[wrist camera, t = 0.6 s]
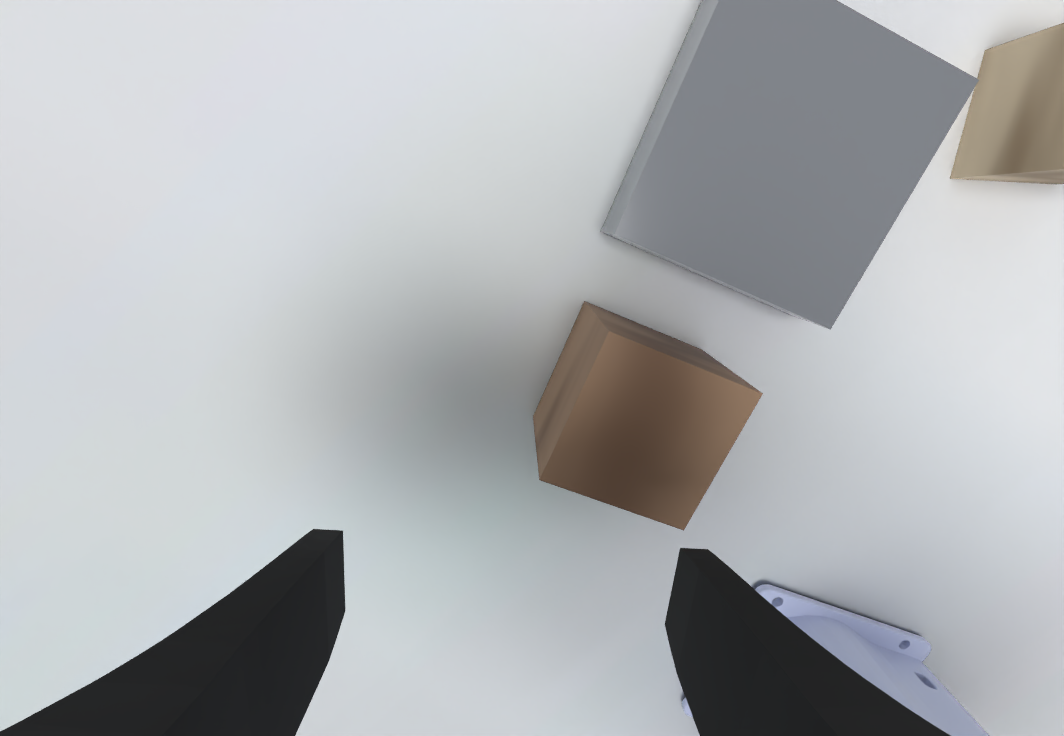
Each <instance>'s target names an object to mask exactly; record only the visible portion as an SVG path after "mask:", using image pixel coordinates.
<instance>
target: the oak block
mask: <svg viewBox="0 0 1064 736" xmlns="http://www.w3.org/2000/svg"><path fill="white" fill-rule="evenodd" d="M977 79H978V80H979V81H978V83H977V84H976V86H975V89H974V92H973V96H972V100H971V103H970V107H969V111H968V114H967V118H966V121H965V125H964V129H963V132H962V136H961V140H960V143H959V147H958V151H957V154H956V158H955V161H954V165H953V169H952V172H951V176H950V179H966V180H985V181H1004V182H1024V183H1043V184H1064V23H1062V24H1059V25H1056V26H1053V27H1050V28H1048V29H1045V30H1042V31H1039V32H1036V33H1033V34H1030V35H1027V36H1025V37H1022V38H1019V39H1016V40H1013V41H1010V42H1007V43H1004V44H1002V45H999V46H996V47H993V48H990V49H987V50H985V52H984V56H983V60H982V63H981V67H980V70H979V74H978V78H977Z"/></svg>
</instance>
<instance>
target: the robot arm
mask: <svg viewBox="0 0 1064 736" xmlns="http://www.w3.org/2000/svg"><path fill="white" fill-rule="evenodd" d="M777 597H778V598H777ZM774 598H777V599H775V600H773V599H774ZM344 613H345V587H344V553H343V531H340V530H320V529H313V530H311V531H310V532H309V533H307V534H306V535H305V536H303V537H302V538H301V539H300V540H298V541H297V542H296V543H294V544H293V545H292V546H291V547H289V548H288V549H287V550H286V551H284V552H283V553H282V554H280V555H279V556H278V557H277V558H275V559H274V560H273V561H272V562H270V563H269V564H268V565H266V566H265V567H264V568H263V569H261V570H260V571H259V572H257V573H256V574H255V575H253V576H252V577H251V578H250V579H248V580H247V581H246V582H244V583H243V584H242V585H240V586H239V587H238V588H236V589H235V590H234V591H232V592H231V593H230V594H228V595H227V596H226V597H224V598H223V599H221V600H220V601H218V602H217V603H216V604H214V605H213V606H211V607H210V608H208V609H207V610H206V611H204V612H203V613H201V614H200V615H198V616H197V617H196V618H194V619H193V620H191V621H190V622H188V623H187V624H186V625H184V626H183V627H181V628H180V629H178V630H177V631H175V632H174V633H172V634H171V635H169V636H168V637H166V638H165V639H163V640H162V641H160V642H159V643H157V644H155V645H154V646H152V647H151V648H149V649H148V650H146V651H144V652H143V653H141V654H139V655H138V656H136V657H134V658H133V659H131V660H130V661H128V662H126V663H125V664H123V665H121V666H120V667H118V668H116V669H115V670H113V671H111V672H110V673H108V674H106V675H104V676H103V677H101V678H99V679H98V680H96V681H94V682H92V683H91V684H89V685H87V686H85V687H83V688H81V689H79V690H78V691H76V692H74V693H72V694H70V695H68V696H66V697H65V698H63V699H61V700H59V701H57V702H55V703H53V704H52V705H50V706H48V707H46V708H44V709H42V710H41V711H39V712H37V713H35V714H33V715H31V716H29V717H28V718H26V719H24V720H22V721H20V722H18V723H16V724H14V725H12V726H10V727H9V728H7V729H5V730H3V731H1V732H0V736H295V735H296V732H297V730H298V728H299V726H300V724H301V721H302V719H303V717H304V715H305V713H306V711H307V708H308V706H309V704H310V702H311V700H312V697H313V695H314V693H315V691H316V688H317V686H318V684H319V682H320V680H321V677H322V675H323V673H324V671H325V668H326V666H327V664H328V662H329V659H330V656H331V653H332V650H333V647H334V644H335V641H336V638H337V635H338V632H339V629H340V626H341V622H342V619H343V616H344ZM665 627H666V631H667V635H668V640H669V644H670V648H671V652H672V656H673V660H674V664H675V668H676V672H677V675H678V678H679V681H680V683H681V686H682V689H683V692H684V694H685V698H684V700H683V702H682V707H683V710H684V712H685V714H686V715H688V716H691V717H693V719H694V721H695V724H696V726H697V729H698V732H699V734H700V736H989V735H988V734H987V733H986V731H985V730H984V729H983V728H982V727H981V726H980V725H979V724H978V723H977V722H976V720H975V719H974V718H973V717H972V716H971V715H970V714H969V713H968V712H967V711H966V710H965V708H964V707H963V706H962V705H961V704H960V703H959V702H958V701H957V700H956V699H955V698H954V696H953V695H952V694H951V693H950V692H949V691H948V690H947V689H946V688H945V687H944V686H943V684H942V683H941V682H940V681H939V680H938V679H937V678H936V677H935V676H934V675H933V673H932V672H931V671H930V670H929V669H928V668H927V667H926V666H925V665H924V664H923V663H922V662H923V661H924V659H925V658H926V657H927V656H928V654H929V653H930V651H931V645H930V643H929V642H928V641H927V640H926V639H925V638H923V637H922V636H919V635H916V634H913V633H910V632H907V631H904V630H901V629H898V628H895V627H892V626H889V625H887V624H884V623H881V622H878V621H875V620H872V619H869V618H866V617H863V616H860V615H857V614H854V613H851V612H848V611H846V610H843V609H840V608H837V607H834V606H831V605H828V604H825V603H822V602H819V601H816V600H813V599H810V598H807V597H805V596H802V595H799V594H796V593H793V592H790V591H787V590H784V589H781V588H778V587H775V586H772V585H769V584H763V585H760V586H758V587H757V588H756V589H755V590H754V589H753V588H752V587H751V586H750V585H749V584H748V583H746V582H745V581H744V580H743V579H742V578H741V577H740V576H739V575H737V574H736V573H735V572H734V571H733V570H732V569H731V568H729V567H728V566H727V565H726V564H725V563H724V562H723V561H721V560H720V559H719V558H718V557H717V556H715V555H714V554H713V553H712V552H710V551H709V550H708V549H690V548H680V552H679V557H678V562H677V567H676V572H675V576H674V581H673V586H672V591H671V596H670V601H669V606H668V611H667V616H666V621H665Z"/></svg>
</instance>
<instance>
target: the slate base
mask: <svg viewBox="0 0 1064 736" xmlns="http://www.w3.org/2000/svg"><path fill="white" fill-rule="evenodd" d="M978 81H979V80H978V79H976V78H975V77H973V76H971V75H969V74H967V73H966V72H964V71H962V70H960V69H958V68H957V67H955V66H953V65H951V64H950V63H948V62H946V61H944V60H942V59H941V58H939V57H937V56H935V55H933V54H932V53H930V52H928V51H926V50H924V49H923V48H921V47H919V46H917V45H916V44H914V43H912V42H910V41H908V40H907V39H905V38H903V37H901V36H899V35H898V34H896V33H894V32H892V31H890V30H889V29H887V28H885V27H883V26H882V25H880V24H878V23H876V22H874V21H873V20H871V19H869V18H867V17H865V16H864V15H862V14H860V13H858V12H856V11H855V10H853V9H851V8H849V7H848V6H846V5H844V4H842V3H840V2H839V1H837V0H702V1H701V3H700V6H699V8H698V10H697V13H696V15H695V17H694V19H693V22H692V24H691V26H690V29H689V31H688V33H687V35H686V38H685V40H684V42H683V45H682V47H681V49H680V51H679V54H678V56H677V58H676V61H675V63H674V65H673V67H672V70H671V72H670V74H669V77H668V79H667V81H666V83H665V86H664V88H663V90H662V93H661V95H660V97H659V99H658V102H657V104H656V106H655V109H654V111H653V113H652V115H651V118H650V120H649V122H648V125H647V127H646V129H645V131H644V134H643V136H642V138H641V141H640V143H639V145H638V147H637V150H636V152H635V154H634V157H633V159H632V161H631V163H630V166H629V168H628V170H627V173H626V175H625V177H624V179H623V182H622V184H621V186H620V189H619V191H618V193H617V195H616V198H615V200H614V202H613V205H612V207H611V209H610V211H609V214H608V216H607V218H606V221H605V223H604V225H603V227H602V230H601V232H603V233H605V234H607V235H610V236H612V237H614V238H616V239H619V240H621V241H623V242H625V243H628V244H630V245H632V246H635V247H637V248H639V249H641V250H644V251H646V252H648V253H651V254H653V255H655V256H657V257H660V258H662V259H664V260H667V261H669V262H671V263H673V264H676V265H678V266H680V267H682V268H685V269H687V270H689V271H692V272H694V273H696V274H698V275H701V276H703V277H705V278H708V279H710V280H712V281H714V282H717V283H719V284H721V285H723V286H726V287H728V288H730V289H733V290H735V291H737V292H739V293H742V294H744V295H746V296H749V297H751V298H753V299H755V300H758V301H760V302H762V303H764V304H767V305H769V306H771V307H774V308H776V309H778V310H780V311H783V312H785V313H787V314H790V315H792V316H795V317H798V318H800V319H803V320H806V321H809V322H811V323H814V324H817V325H820V326H822V327H825V328H828V329H831V328H832V326H833V324H834V323H835V321H836V319H837V318H838V316H839V314H840V313H841V311H842V309H843V308H844V306H845V304H846V302H847V301H848V299H849V297H850V296H851V294H852V292H853V291H854V289H855V287H856V286H857V284H858V282H859V281H860V279H861V277H862V276H863V274H864V272H865V271H866V269H867V267H868V266H869V264H870V262H871V261H872V259H873V257H874V255H875V254H876V252H877V250H878V249H879V247H880V245H881V244H882V242H883V240H884V239H885V237H886V235H887V234H888V232H889V230H890V229H891V227H892V225H893V224H894V222H895V220H896V219H897V217H898V215H899V213H900V212H901V210H902V208H903V207H904V205H905V203H906V202H907V200H908V198H909V197H910V195H911V193H912V192H913V190H914V188H915V187H916V185H917V183H918V182H919V180H920V178H921V177H922V175H923V173H924V172H925V170H926V168H927V166H928V165H929V163H930V161H931V160H932V158H933V156H934V155H935V153H936V151H937V150H938V148H939V146H940V145H941V143H942V141H943V140H944V138H945V136H946V135H947V133H948V131H949V130H950V128H951V126H952V124H953V123H954V121H955V119H956V118H957V116H958V114H959V113H960V111H961V109H962V108H963V106H964V104H965V103H966V101H967V99H968V98H969V96H970V94H971V93H972V91H973V89H974V88H975V86H976V84H977V83H978Z"/></svg>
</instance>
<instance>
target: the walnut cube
mask: <svg viewBox="0 0 1064 736" xmlns="http://www.w3.org/2000/svg"><path fill="white" fill-rule="evenodd" d="M762 394H763V393H761V392H760V391H758V390H757V389H756V388H754V387H753V386H751V385H750V384H749V383H747V382H746V381H744V380H743V379H742V378H740V377H739V376H738V375H736V374H735V373H733V372H732V371H731V370H729V369H728V368H726V367H725V366H724V365H722V364H721V363H719V362H718V361H717V360H715V359H714V358H713V357H711V356H710V355H708V354H707V353H706V352H704V351H703V350H701V349H699V348H697V347H694V346H692V345H689V344H687V343H684V342H682V341H680V340H677V339H675V338H672V337H670V336H667V335H665V334H663V333H660V332H658V331H655V330H653V329H651V328H648V327H646V326H643V325H641V324H638V323H636V322H634V321H631V320H629V319H626V318H624V317H622V316H619V315H617V314H614V313H612V312H609V311H607V310H605V309H602V308H600V307H597V306H595V305H593V304H590V303H588V302H585V301H584V303H583V305H582V308H581V310H580V312H579V314H578V317H577V319H576V321H575V323H574V326H573V328H572V330H571V332H570V335H569V337H568V339H567V341H566V344H565V346H564V348H563V350H562V353H561V355H560V357H559V359H558V362H557V364H556V366H555V368H554V371H553V373H552V375H551V377H550V380H549V382H548V384H547V386H546V388H545V391H544V393H543V395H542V397H541V400H540V402H539V404H538V406H537V409H536V411H535V413H534V415H533V422H534V432H535V441H536V451H537V461H538V470H539V480H541V481H544V482H547V483H550V484H553V485H555V486H558V487H561V488H564V489H567V490H570V491H573V492H575V493H578V494H581V495H584V496H587V497H590V498H593V499H595V500H598V501H601V502H604V503H607V504H610V505H613V506H615V507H618V508H621V509H624V510H627V511H630V512H633V513H636V514H638V515H641V516H644V517H647V518H650V519H653V520H656V521H658V522H661V523H664V524H667V525H670V526H673V527H676V528H678V529H681V530H684V529H685V527H686V526H687V524H688V522H689V520H690V519H691V517H692V515H693V513H694V512H695V510H696V508H697V507H698V505H699V503H700V501H701V500H702V498H703V496H704V494H705V493H706V491H707V489H708V487H709V486H710V484H711V482H712V481H713V479H714V477H715V475H716V474H717V472H718V470H719V468H720V467H721V465H722V463H723V462H724V460H725V458H726V456H727V455H728V453H729V451H730V449H731V448H732V446H733V444H734V443H735V441H736V439H737V437H738V436H739V434H740V432H741V430H742V429H743V427H744V425H745V423H746V422H747V420H748V418H749V417H750V415H751V413H752V411H753V410H754V408H755V406H756V404H757V403H758V401H759V399H760V398H761V396H762Z"/></svg>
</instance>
